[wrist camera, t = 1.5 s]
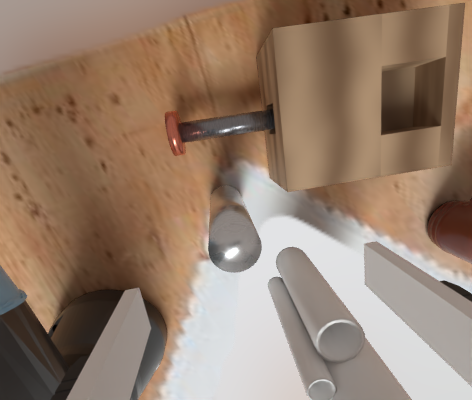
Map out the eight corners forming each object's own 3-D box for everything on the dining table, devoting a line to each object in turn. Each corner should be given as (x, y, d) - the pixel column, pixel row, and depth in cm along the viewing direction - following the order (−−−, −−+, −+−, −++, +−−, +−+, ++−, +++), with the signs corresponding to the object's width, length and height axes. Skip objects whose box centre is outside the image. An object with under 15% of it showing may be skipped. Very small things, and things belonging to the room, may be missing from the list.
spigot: (213, 217, 33) (213, 276, 19) (207, 188, 32) (204, 228, 18) (243, 212, 33) (264, 267, 19) (238, 183, 32) (258, 219, 18)
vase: (334, 296, 38) (461, 467, 18) (294, 322, 38) (377, 514, 19) (296, 240, 35) (400, 374, 15) (253, 269, 35) (302, 433, 16)
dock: (269, 178, 32) (287, 192, 24) (256, 57, 28) (272, 28, 21) (395, 157, 33) (451, 165, 25) (398, 37, 29) (465, 2, 21)
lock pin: (178, 154, 28) (172, 157, 24) (170, 113, 27) (162, 110, 23) (293, 136, 29) (307, 136, 25) (290, 96, 28) (304, 89, 24)
